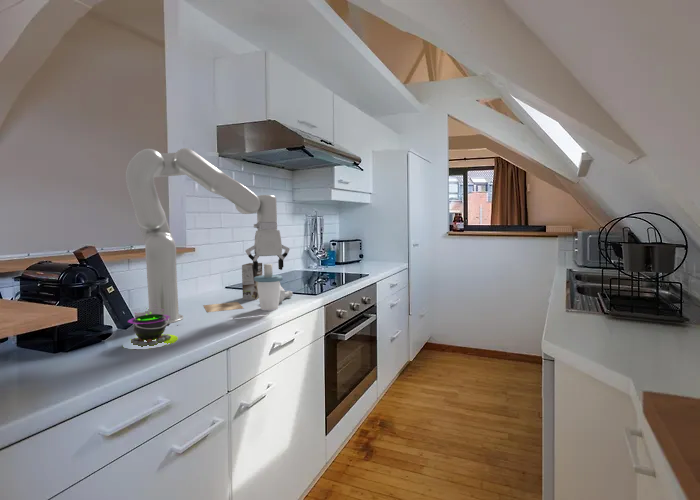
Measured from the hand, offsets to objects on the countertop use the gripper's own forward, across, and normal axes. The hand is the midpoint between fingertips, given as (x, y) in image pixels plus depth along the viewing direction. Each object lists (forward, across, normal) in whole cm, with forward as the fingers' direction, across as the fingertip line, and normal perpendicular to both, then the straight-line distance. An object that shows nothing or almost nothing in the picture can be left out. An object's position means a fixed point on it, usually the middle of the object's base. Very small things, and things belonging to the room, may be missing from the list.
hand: (268, 270), depth 159 cm
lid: (+4, 0, 0) cm, 4 cm away
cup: (+16, 0, 0) cm, 16 cm away
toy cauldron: (+16, -42, -24) cm, 51 cm away
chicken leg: (+16, +8, +15) cm, 23 cm away
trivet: (+16, -16, +12) cm, 25 cm away
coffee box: (+16, -1, +25) cm, 30 cm away
